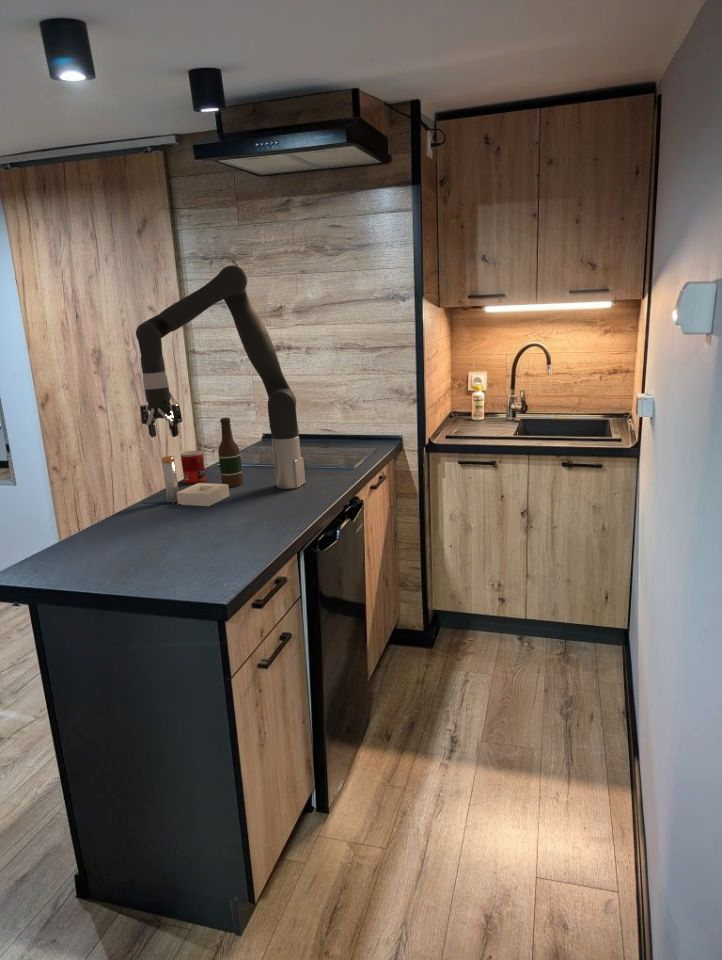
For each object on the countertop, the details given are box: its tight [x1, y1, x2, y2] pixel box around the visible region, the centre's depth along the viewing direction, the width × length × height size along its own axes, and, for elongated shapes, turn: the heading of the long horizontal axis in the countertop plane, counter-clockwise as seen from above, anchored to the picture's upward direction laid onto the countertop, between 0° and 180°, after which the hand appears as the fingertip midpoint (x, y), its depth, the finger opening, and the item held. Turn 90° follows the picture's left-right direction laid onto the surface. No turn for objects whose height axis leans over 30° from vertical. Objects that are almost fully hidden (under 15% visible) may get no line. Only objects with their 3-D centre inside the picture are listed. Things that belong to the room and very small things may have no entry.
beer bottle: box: [217, 417, 244, 488], centre depth 238 cm, size 8×8×24 cm
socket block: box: [177, 482, 230, 507], centre depth 223 cm, size 12×12×4 cm
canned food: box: [180, 450, 207, 485], centre depth 247 cm, size 8×8×11 cm
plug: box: [161, 455, 180, 503], centre depth 223 cm, size 4×4×15 cm
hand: (164, 436), depth 219 cm, fingers open, 8 cm apart
